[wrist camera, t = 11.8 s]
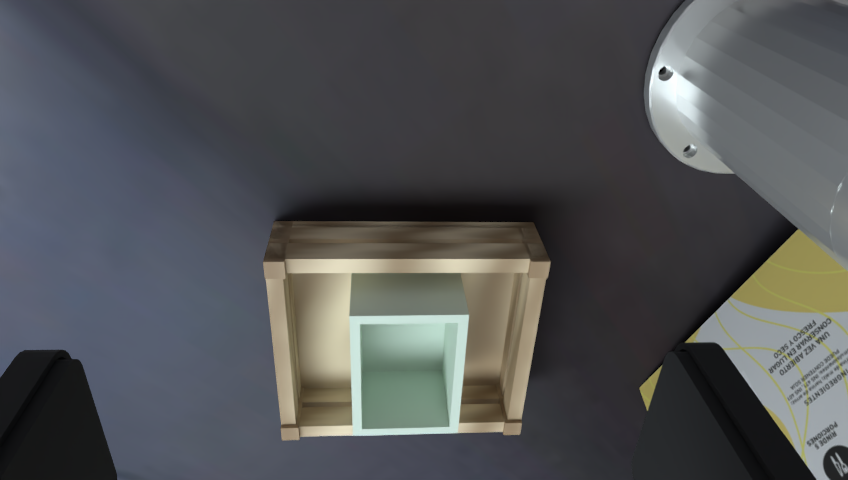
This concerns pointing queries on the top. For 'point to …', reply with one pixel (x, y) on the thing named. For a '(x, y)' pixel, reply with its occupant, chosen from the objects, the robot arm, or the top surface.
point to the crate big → (401, 253)
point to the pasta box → (792, 349)
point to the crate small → (407, 352)
